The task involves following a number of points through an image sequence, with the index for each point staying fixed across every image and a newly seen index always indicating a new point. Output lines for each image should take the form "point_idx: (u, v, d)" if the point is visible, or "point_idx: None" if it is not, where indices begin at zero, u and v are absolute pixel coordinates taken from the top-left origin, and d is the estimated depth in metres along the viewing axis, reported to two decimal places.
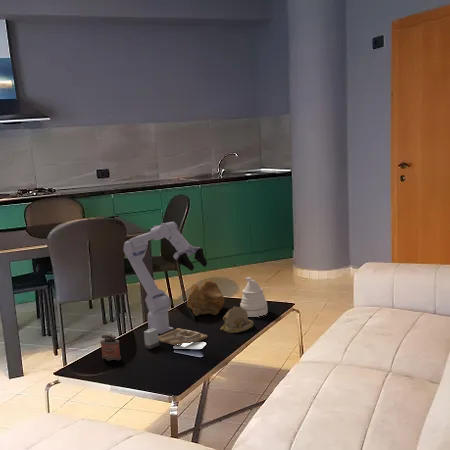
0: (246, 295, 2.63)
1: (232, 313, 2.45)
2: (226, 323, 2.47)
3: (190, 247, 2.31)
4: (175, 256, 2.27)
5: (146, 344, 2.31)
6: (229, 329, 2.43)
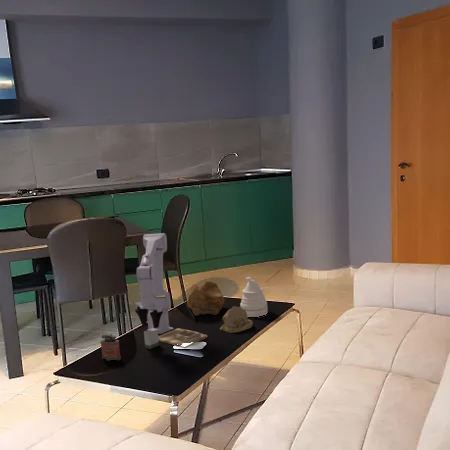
0: (246, 295, 2.63)
1: (231, 313, 2.45)
2: (226, 323, 2.47)
3: None
4: None
5: (146, 344, 2.31)
6: (229, 329, 2.43)
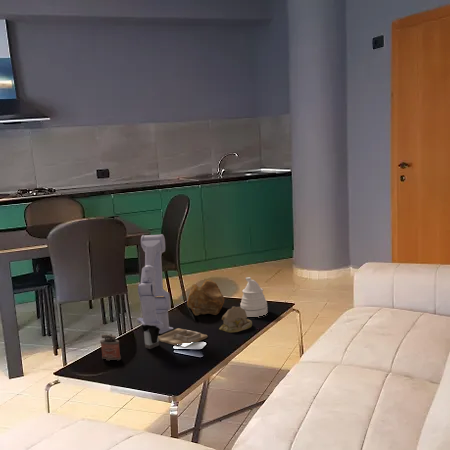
0: (246, 295, 2.63)
1: (231, 313, 2.45)
2: (225, 323, 2.47)
3: None
4: None
5: (146, 344, 2.31)
6: (228, 329, 2.43)
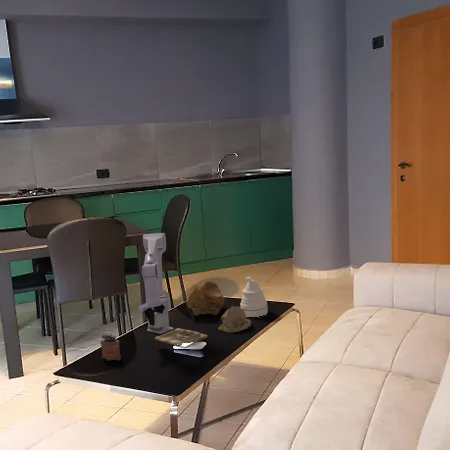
0: (246, 295, 2.63)
1: (230, 313, 2.46)
2: (224, 323, 2.47)
3: None
4: (140, 309, 2.25)
5: (159, 327, 2.30)
6: (228, 329, 2.43)
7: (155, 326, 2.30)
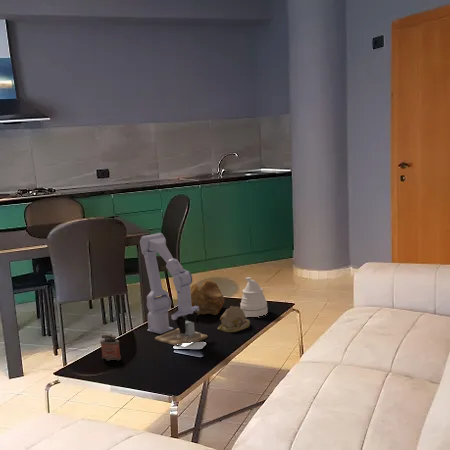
0: (246, 295, 2.63)
1: (229, 312, 2.46)
2: (223, 323, 2.47)
3: None
4: (173, 317, 2.30)
5: None
6: (227, 329, 2.44)
7: (187, 335, 2.34)
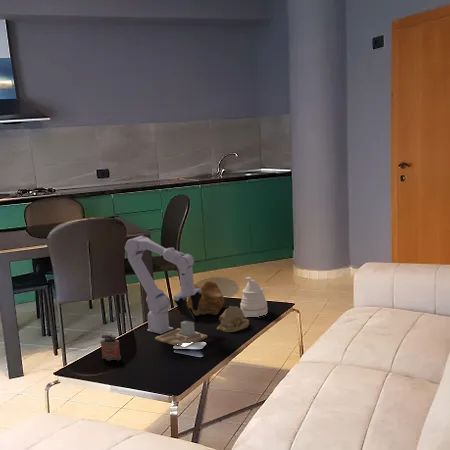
0: (246, 295, 2.63)
1: (229, 312, 2.46)
2: (223, 323, 2.47)
3: (192, 294, 2.41)
4: (175, 298, 2.38)
5: None
6: (226, 329, 2.44)
7: (187, 335, 2.34)
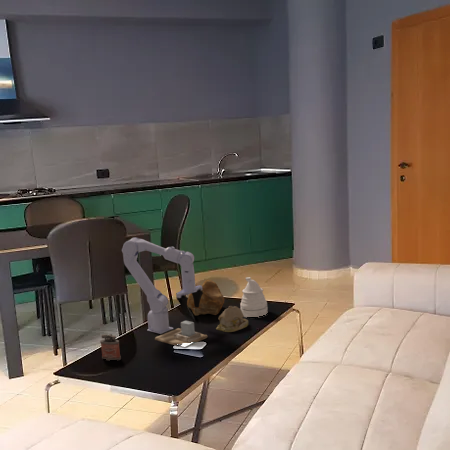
0: (246, 295, 2.63)
1: (228, 312, 2.46)
2: (222, 323, 2.47)
3: (194, 291, 2.46)
4: (177, 295, 2.42)
5: None
6: (226, 328, 2.44)
7: (187, 335, 2.34)
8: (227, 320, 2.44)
